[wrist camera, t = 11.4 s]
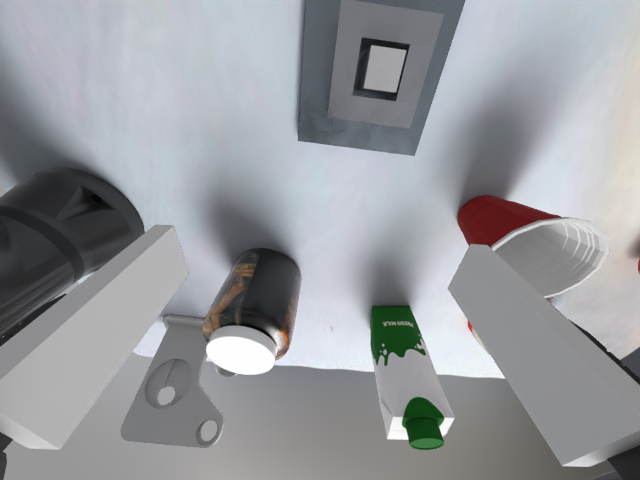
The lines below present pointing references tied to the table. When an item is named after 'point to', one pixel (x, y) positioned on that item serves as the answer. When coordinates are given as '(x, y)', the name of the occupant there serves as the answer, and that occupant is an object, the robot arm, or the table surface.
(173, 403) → the phone holder
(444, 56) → the stand
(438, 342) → the table surface
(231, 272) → the jar
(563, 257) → the plastic cup
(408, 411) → the milk carton
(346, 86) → the block
